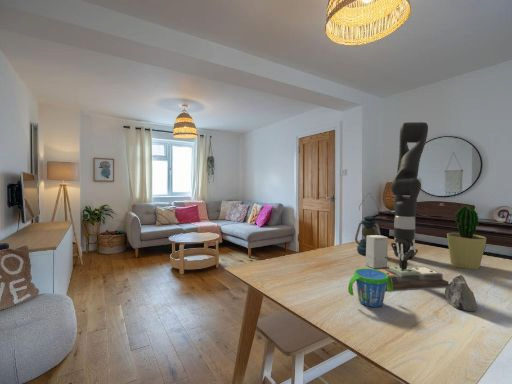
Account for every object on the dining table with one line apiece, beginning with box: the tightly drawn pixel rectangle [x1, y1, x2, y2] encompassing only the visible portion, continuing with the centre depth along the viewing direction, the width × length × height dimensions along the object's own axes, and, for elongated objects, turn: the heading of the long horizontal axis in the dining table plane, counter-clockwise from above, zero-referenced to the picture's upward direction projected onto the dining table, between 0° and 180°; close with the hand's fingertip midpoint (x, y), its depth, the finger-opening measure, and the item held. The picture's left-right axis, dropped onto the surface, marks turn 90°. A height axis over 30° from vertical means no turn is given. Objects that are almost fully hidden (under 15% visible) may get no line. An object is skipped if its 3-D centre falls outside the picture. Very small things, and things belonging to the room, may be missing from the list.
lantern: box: [354, 192, 382, 257], centre depth 149 cm, size 14×12×35 cm
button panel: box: [374, 266, 450, 291], centre depth 109 cm, size 14×30×4 cm, turn 100°
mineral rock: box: [444, 274, 478, 312], centre depth 89 cm, size 13×11×10 cm
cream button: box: [409, 266, 438, 274], centre depth 111 cm, size 7×7×2 cm
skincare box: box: [365, 234, 389, 269], centre depth 128 cm, size 8×6×15 cm
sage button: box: [388, 265, 417, 276], centre depth 109 cm, size 7×7×2 cm
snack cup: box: [347, 268, 394, 308], centre depth 89 cm, size 16×10×10 cm
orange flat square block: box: [378, 268, 394, 276], centre depth 107 cm, size 7×7×2 cm
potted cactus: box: [446, 205, 487, 270], centre depth 130 cm, size 15×15×30 cm
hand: (403, 268), depth 109 cm, fingers closed
